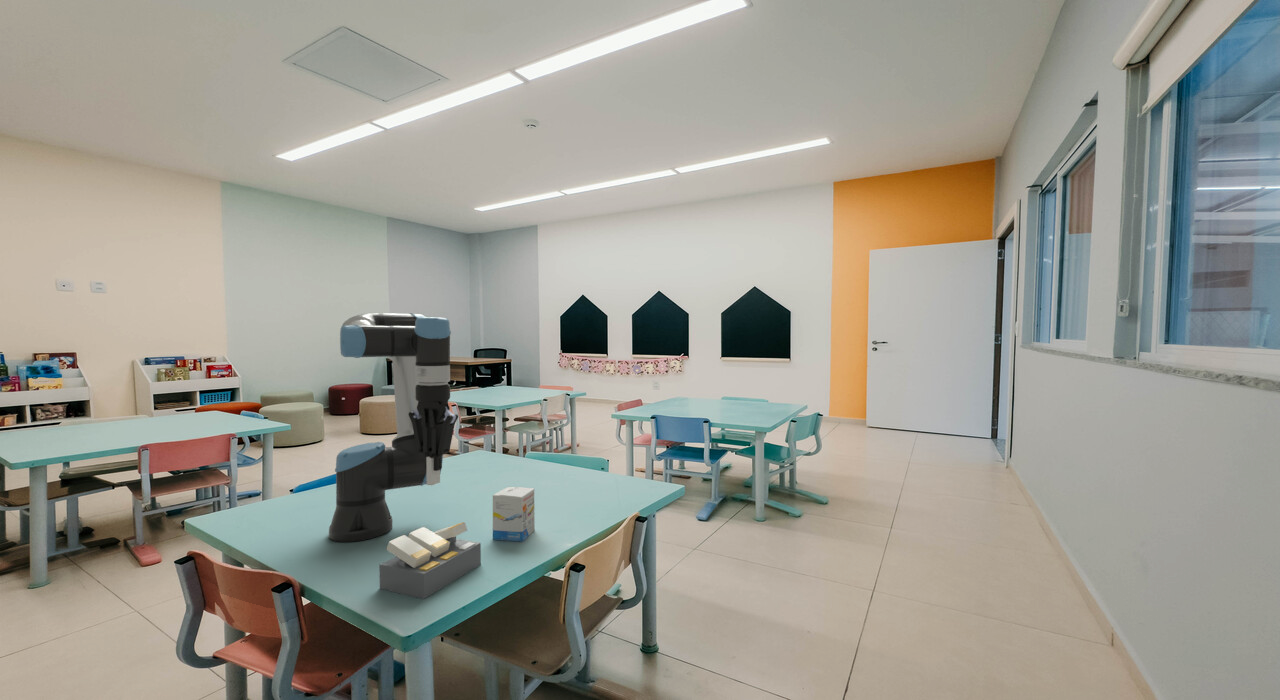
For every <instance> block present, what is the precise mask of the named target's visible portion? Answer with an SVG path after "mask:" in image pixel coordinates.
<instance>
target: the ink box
mask: <svg viewBox="0 0 1280 700" xmlns="http://www.w3.org/2000/svg"><path fill="white" fill-rule="evenodd" d="M535 523H536V522H535V488H534V487H532V488H531V487H521V486H520V487H518V486H513V487H511V486H510V487H509V486H507V487H505V488H503V489H501V490H500V491H497V492H495V493H493V494H492V540H497V541H508V542H509V541H511V542H523V541H525V539H527V538H528V537H529V536H530V535H531V534H532V533H533V532H534V531H535V530H536V529H535Z"/></svg>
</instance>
